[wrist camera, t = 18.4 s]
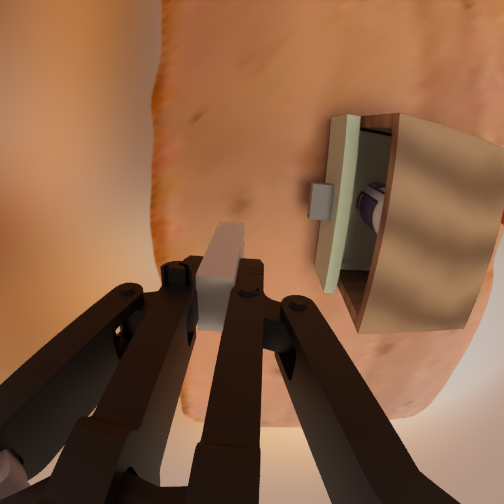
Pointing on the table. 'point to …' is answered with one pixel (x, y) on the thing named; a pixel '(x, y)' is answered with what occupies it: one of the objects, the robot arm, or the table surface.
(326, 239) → the drawer
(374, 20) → the table surface
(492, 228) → the housing
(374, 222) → the pill bottle
